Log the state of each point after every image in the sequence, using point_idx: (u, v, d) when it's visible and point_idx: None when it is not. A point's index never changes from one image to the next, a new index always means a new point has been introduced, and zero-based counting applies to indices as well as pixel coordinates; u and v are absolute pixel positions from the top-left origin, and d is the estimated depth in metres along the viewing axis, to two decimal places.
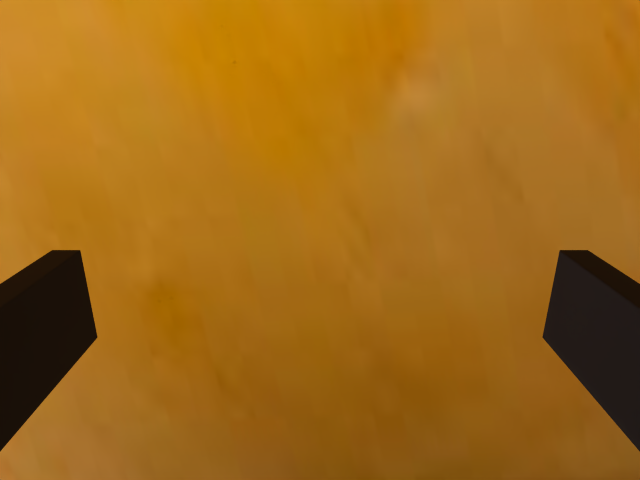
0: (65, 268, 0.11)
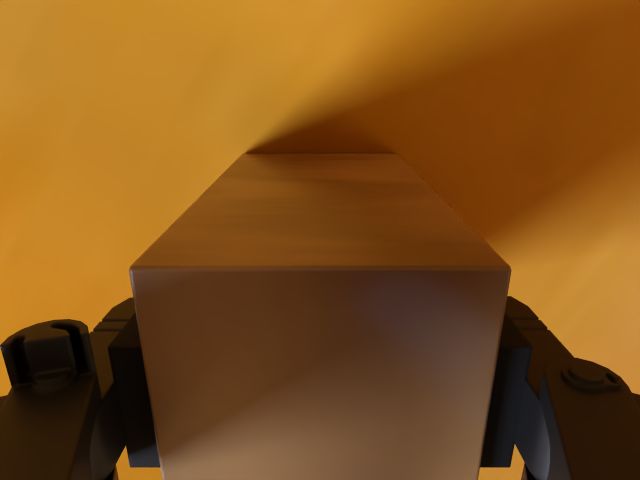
0: None
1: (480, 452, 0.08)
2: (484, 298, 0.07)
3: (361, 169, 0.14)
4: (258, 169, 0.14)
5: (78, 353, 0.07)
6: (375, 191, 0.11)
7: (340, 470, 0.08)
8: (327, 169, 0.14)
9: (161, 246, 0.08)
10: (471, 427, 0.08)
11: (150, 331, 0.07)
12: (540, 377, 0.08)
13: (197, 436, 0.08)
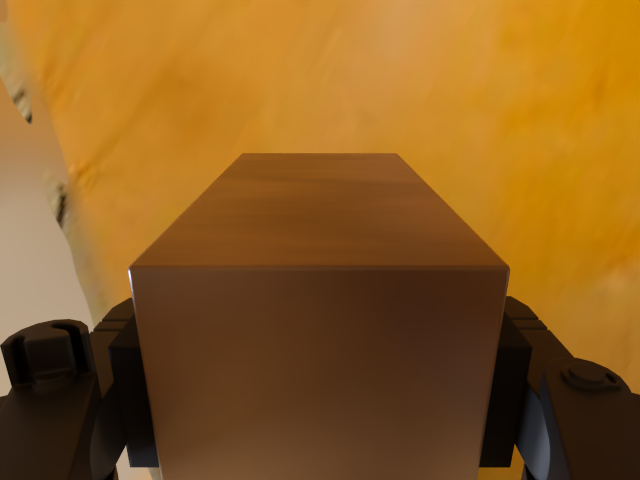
0: None
1: (479, 452, 0.08)
2: (483, 298, 0.07)
3: (360, 169, 0.14)
4: (257, 169, 0.14)
5: (78, 353, 0.07)
6: (374, 191, 0.11)
7: (340, 470, 0.08)
8: (326, 169, 0.14)
9: (159, 245, 0.08)
10: (470, 427, 0.08)
11: (149, 331, 0.07)
12: (540, 377, 0.08)
13: (196, 435, 0.08)
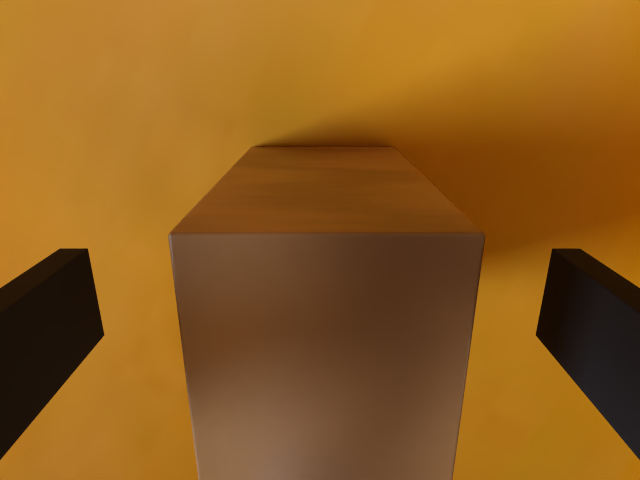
0: (73, 266, 0.11)
1: (462, 395, 0.09)
2: (463, 259, 0.08)
3: (361, 160, 0.15)
4: (267, 160, 0.15)
5: None
6: (373, 177, 0.13)
7: (343, 411, 0.10)
8: (330, 160, 0.15)
9: (192, 219, 0.09)
10: (454, 372, 0.09)
11: (184, 288, 0.09)
12: None
13: (222, 380, 0.09)
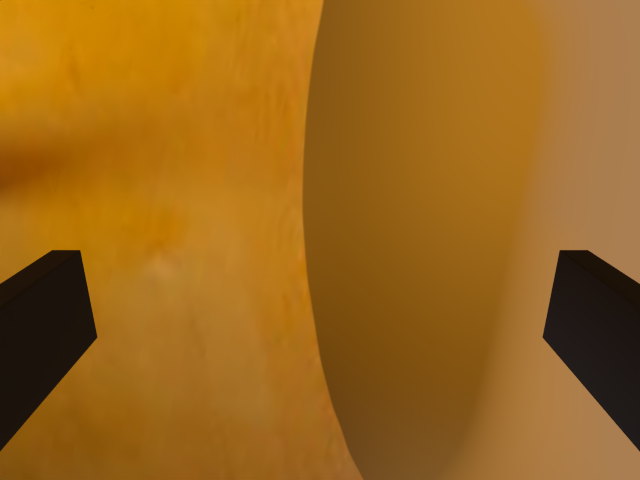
0: (65, 268, 0.11)
1: None
2: None
3: None
4: None
5: None
6: None
7: None
8: None
9: None
10: None
11: None
12: None
13: None
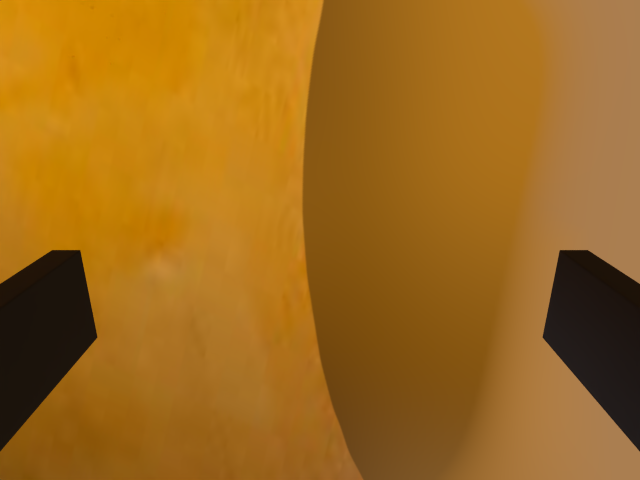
0: (65, 268, 0.11)
1: None
2: None
3: None
4: None
5: None
6: None
7: None
8: None
9: None
10: None
11: None
12: None
13: None
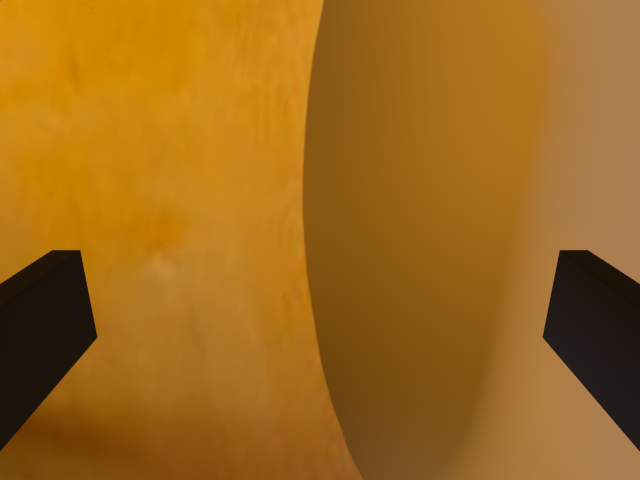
0: (65, 268, 0.11)
1: None
2: None
3: None
4: None
5: None
6: None
7: None
8: None
9: None
10: None
11: None
12: None
13: None
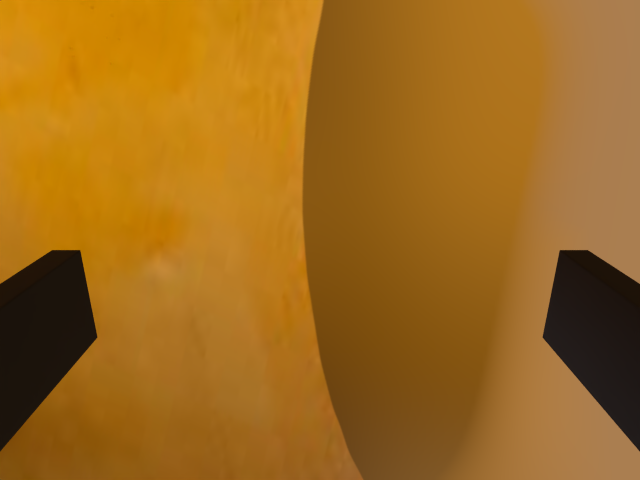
0: (65, 268, 0.11)
1: None
2: None
3: None
4: None
5: None
6: None
7: None
8: None
9: None
10: None
11: None
12: None
13: None
